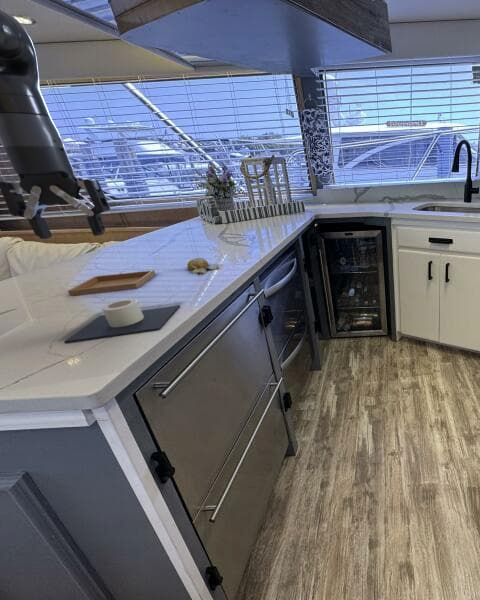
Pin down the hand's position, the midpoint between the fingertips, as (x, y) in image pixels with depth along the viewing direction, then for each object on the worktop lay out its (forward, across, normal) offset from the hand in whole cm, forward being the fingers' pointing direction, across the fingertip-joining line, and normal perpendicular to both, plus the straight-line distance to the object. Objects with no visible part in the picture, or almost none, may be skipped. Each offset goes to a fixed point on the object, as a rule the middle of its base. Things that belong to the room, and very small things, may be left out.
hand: (73, 236), depth 63 cm
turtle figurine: (+19, +10, +33) cm, 39 cm away
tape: (+18, +5, -3) cm, 19 cm away
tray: (+19, -10, +26) cm, 33 cm away
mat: (+18, +5, -3) cm, 19 cm away
